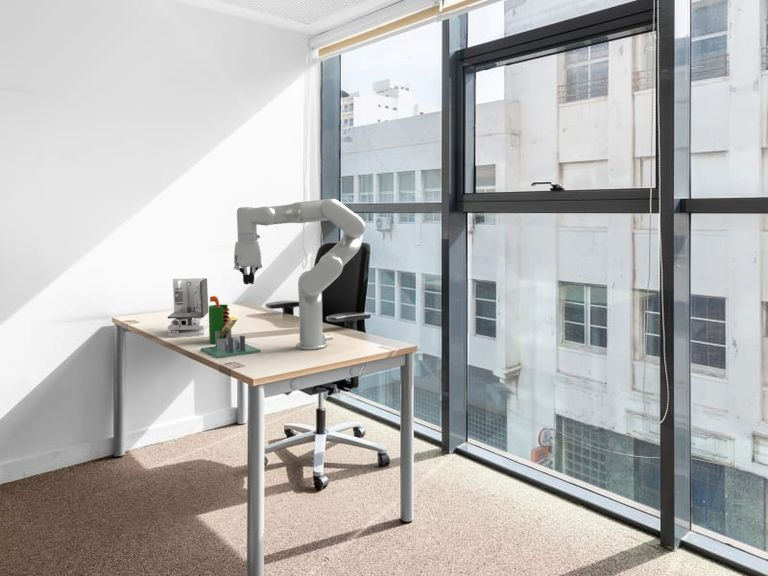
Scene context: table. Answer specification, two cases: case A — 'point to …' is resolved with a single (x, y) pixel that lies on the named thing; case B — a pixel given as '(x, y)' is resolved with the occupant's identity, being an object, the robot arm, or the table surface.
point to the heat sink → (226, 342)
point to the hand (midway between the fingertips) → (248, 283)
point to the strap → (228, 325)
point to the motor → (217, 318)
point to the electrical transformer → (189, 307)
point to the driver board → (231, 349)
